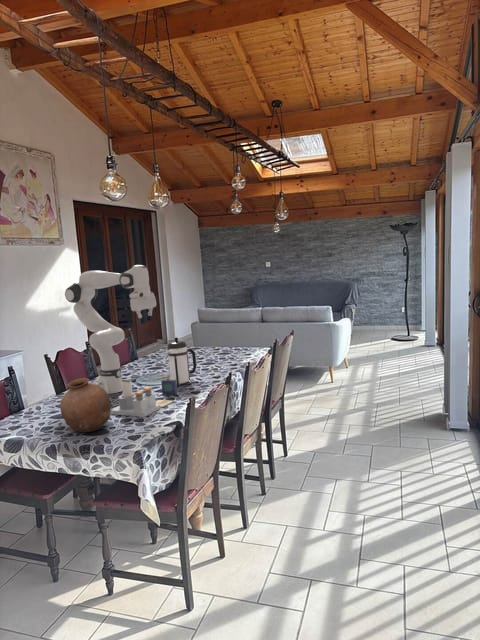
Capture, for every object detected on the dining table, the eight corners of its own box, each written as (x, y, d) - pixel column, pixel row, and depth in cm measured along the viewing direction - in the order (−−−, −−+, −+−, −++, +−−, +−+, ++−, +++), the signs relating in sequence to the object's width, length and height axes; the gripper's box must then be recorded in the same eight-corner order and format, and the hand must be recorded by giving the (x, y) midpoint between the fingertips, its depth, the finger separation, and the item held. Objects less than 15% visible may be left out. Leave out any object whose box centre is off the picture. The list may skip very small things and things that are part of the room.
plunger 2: (143, 401, 252) (141, 389, 251) (148, 398, 256) (146, 386, 255) (149, 402, 250) (148, 389, 249) (154, 399, 254) (153, 387, 253)
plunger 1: (134, 406, 245) (132, 393, 244) (139, 403, 249) (138, 390, 248) (141, 406, 243) (139, 393, 242) (146, 403, 247) (144, 391, 246)
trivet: (147, 406, 259) (147, 405, 259) (158, 400, 268) (158, 399, 268) (162, 407, 255) (162, 406, 255) (173, 401, 264) (172, 400, 264)
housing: (110, 413, 252) (108, 399, 251) (127, 405, 264) (125, 391, 263) (144, 417, 242) (143, 401, 241) (160, 408, 255) (158, 393, 254)
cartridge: (122, 408, 253) (119, 380, 251) (128, 405, 258) (125, 378, 256) (130, 408, 251) (127, 381, 249) (135, 405, 256) (132, 378, 254)
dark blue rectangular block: (178, 393, 279) (176, 376, 278) (176, 395, 277) (174, 377, 275) (163, 394, 282) (161, 376, 280) (161, 395, 279) (159, 377, 277)
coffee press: (189, 387, 292) (185, 339, 288) (165, 387, 296) (160, 340, 291) (197, 379, 309) (193, 334, 305) (174, 379, 312) (170, 335, 308)
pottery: (117, 419, 242) (111, 371, 238) (106, 436, 219) (100, 384, 215) (72, 423, 241) (66, 375, 238) (56, 440, 218) (49, 388, 215)
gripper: (148, 291, 284) (151, 314, 286) (127, 295, 266) (130, 319, 268) (157, 291, 281) (160, 314, 283) (136, 294, 263) (139, 319, 265)
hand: (145, 316), depth 275 cm, fingers open, 8 cm apart
